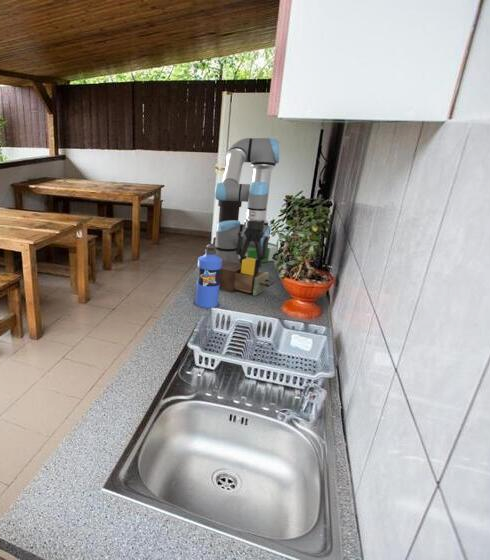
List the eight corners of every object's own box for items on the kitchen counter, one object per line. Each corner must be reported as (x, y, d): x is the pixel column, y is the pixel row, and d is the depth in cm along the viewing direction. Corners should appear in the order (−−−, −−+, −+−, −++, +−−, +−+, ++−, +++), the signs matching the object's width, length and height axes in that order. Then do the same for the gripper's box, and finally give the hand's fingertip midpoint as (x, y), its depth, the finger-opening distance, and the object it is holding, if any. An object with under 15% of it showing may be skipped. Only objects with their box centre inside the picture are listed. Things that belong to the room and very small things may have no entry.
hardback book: (226, 243, 238) (257, 239, 249) (225, 255, 240) (256, 251, 251) (249, 251, 223) (281, 246, 234) (247, 264, 226) (279, 259, 237)
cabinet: (245, 285, 196) (247, 265, 192) (232, 292, 187) (234, 271, 183) (217, 278, 205) (218, 259, 201) (203, 284, 196) (205, 264, 192)
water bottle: (195, 298, 179) (199, 240, 171) (218, 300, 177) (223, 242, 169) (194, 306, 170) (198, 246, 162) (217, 309, 168) (223, 247, 160)
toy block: (246, 270, 190) (247, 257, 188) (258, 272, 186) (259, 259, 184) (240, 273, 186) (242, 259, 184) (252, 275, 182) (254, 262, 180)
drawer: (275, 291, 186) (278, 274, 183) (265, 298, 178) (267, 280, 175) (238, 282, 197) (240, 266, 194) (226, 288, 189) (228, 271, 186)
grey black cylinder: (226, 240, 278) (230, 194, 269) (245, 246, 265) (250, 197, 255) (207, 243, 271) (210, 196, 261) (225, 249, 257) (230, 199, 247)
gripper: (231, 218, 181) (226, 269, 189) (273, 224, 170) (266, 279, 177) (239, 215, 187) (234, 266, 194) (280, 221, 175) (273, 274, 183)
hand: (249, 272), depth 186 cm, fingers closed on toy block, 5 cm apart
